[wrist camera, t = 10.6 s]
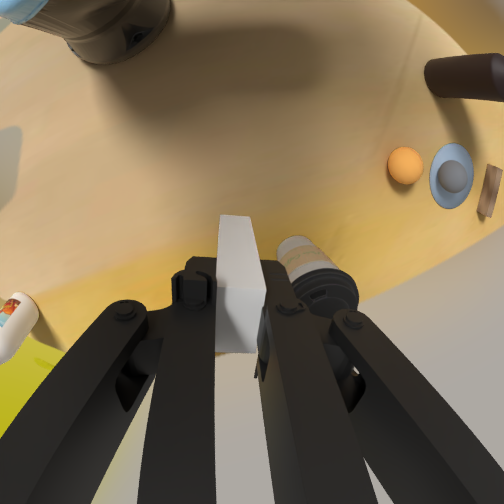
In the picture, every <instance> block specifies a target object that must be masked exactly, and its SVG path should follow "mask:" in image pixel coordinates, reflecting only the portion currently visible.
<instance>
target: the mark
mask: <svg viewBox="0 0 504 504" xmlns="http://www.w3.org/2000/svg"><path fill="white" fill-rule="evenodd" d="M448 160H455V161H458V162H459V163H461V164H462V165H463V166H464V168H465V169H466V172H467V176H468V181H467V185H466V187H465V188H464V189H463V190H462V191H461V192H459V193H450V192H448V191H446V190H445V189H444V188H443V187H442V186H441V184H440V182H439V179H438V171H439V168H440V166H441V165H442V164H443V163H444V162H445V161H448ZM473 176H474V170H473V163H472V160H471V157H470V155H469V153H468V152H467V150H466V149H465V148H464V147H463V146H461V145H459V144H456V143H450V144H447V145H445V146H443V147H442V148H441V149H440V150H439V151H438V152H437V154H436V155H435V157H434V159H433V162H432V165H431V169H430V188H431V192H432V195H433V197H434V199H435V201H436V202H437V203H438V204H439V205H440V206H442V207H444V208H447V209H452V208H455V207H457V206H459V205H460V204H462V203H463V202H464V200H465V199H466V198H467V196H468V194H469V192H470V190H471V187H472V183H473Z"/></svg>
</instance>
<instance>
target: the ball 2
mask: <svg viewBox="0 0 504 504" xmlns="http://www.w3.org/2000/svg"><path fill="white" fill-rule="evenodd" d="M438 179H439V182H440V184H441V186H442V187H443V188H444V189H445V190H446V191H448V192H450V193H459V192H461V191H462V190H463V189H464V188H465V187H466V185H467V181H468V176H467V172H466V169H465V168H464V166H463V165H462V164H461V163H459V162H458V161H455V160H448V161H445V162H444V163H443V164H442V165H441V166H440V168H439V171H438Z"/></svg>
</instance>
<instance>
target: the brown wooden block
mask: <svg viewBox="0 0 504 504" xmlns="http://www.w3.org/2000/svg"><path fill="white" fill-rule="evenodd" d="M502 171H503V170H501V169H500V168H498V167H495V166H492V165H489V164H487V169H486V174H485V179H484V184H483V188H482V192H481V196H480V200H479V204H478V208H477V212H479V213H481V214H483V215H485V216H487V217H490V218H491V217H492V213H493V210H494V206H495V202H496V198H497V194H498V190H499V185H500V181H501V176H502Z"/></svg>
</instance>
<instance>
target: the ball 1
mask: <svg viewBox="0 0 504 504" xmlns="http://www.w3.org/2000/svg"><path fill="white" fill-rule="evenodd" d="M388 169H389V172H390V174H391V175H392V177H393V178H394V179H395V180H396V181H398V182H400V183H402V184H412V183H415V182H416V181H417V180H419V178H420V177H421V175H422V173H423V161H422V159H421V157H420V155H419V154H418V153H417V152H416V151H415V150H413V149H411V148H409V147H400V148H397V149H395V150H394V151H393V152H392V153H391V155H390V156H389V159H388Z"/></svg>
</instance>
